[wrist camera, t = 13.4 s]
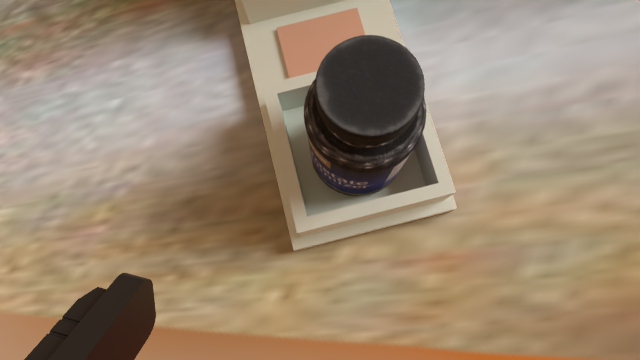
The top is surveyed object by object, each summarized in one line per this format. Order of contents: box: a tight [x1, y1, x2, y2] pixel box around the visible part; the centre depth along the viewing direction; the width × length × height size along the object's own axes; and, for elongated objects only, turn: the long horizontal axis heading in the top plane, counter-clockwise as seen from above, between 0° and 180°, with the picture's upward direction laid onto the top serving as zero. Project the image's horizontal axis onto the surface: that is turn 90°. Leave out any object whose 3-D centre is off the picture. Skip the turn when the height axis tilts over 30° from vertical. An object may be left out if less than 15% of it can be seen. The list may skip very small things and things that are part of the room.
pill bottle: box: [304, 35, 427, 196], centre depth 23 cm, size 6×6×11 cm
